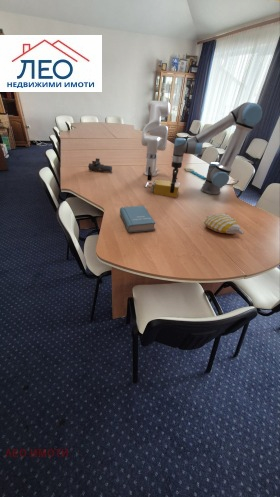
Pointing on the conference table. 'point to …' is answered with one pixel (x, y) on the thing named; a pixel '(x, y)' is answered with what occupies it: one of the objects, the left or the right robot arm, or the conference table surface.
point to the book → (137, 219)
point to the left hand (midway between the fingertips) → (149, 180)
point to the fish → (223, 224)
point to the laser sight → (99, 166)
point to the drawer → (151, 187)
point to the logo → (194, 172)
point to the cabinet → (165, 188)
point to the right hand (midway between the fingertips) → (172, 190)
